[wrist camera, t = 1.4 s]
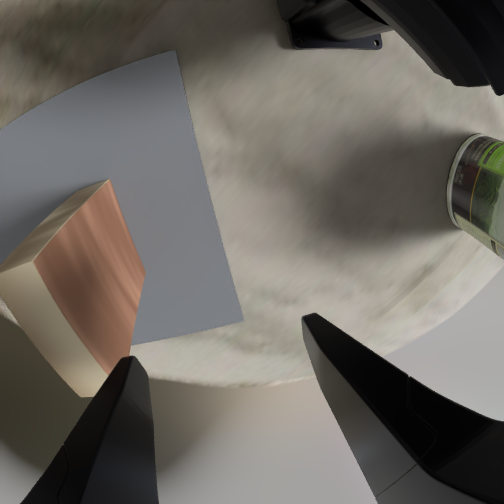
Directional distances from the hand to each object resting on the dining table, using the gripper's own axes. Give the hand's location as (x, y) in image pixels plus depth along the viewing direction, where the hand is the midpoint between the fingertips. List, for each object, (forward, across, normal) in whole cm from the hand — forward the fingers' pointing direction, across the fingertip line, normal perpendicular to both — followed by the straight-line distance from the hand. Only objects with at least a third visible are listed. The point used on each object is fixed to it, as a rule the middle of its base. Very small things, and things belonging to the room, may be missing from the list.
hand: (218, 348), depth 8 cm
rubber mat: (+12, +10, 0) cm, 15 cm away
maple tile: (+12, +6, 0) cm, 13 cm away
